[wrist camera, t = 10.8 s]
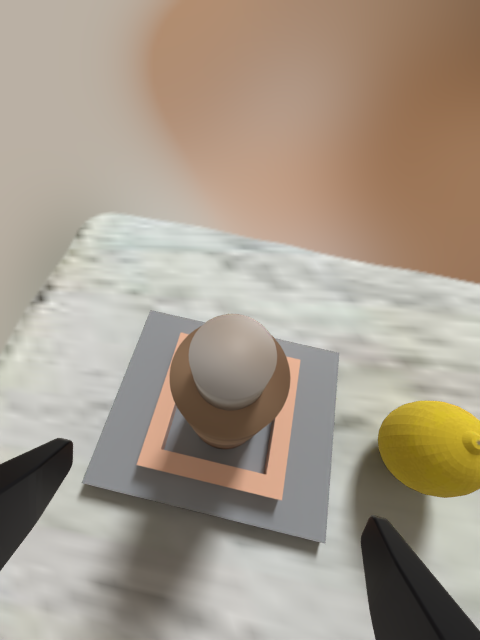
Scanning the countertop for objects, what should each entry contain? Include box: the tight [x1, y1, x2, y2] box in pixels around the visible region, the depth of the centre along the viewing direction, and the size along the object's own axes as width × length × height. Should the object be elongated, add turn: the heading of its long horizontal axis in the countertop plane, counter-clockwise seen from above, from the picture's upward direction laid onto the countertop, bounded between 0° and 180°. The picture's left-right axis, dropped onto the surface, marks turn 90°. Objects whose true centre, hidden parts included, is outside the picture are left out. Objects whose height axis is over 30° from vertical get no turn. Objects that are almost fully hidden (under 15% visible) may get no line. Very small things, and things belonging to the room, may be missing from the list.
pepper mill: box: [170, 314, 290, 449], centre depth 16 cm, size 5×5×13 cm
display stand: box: [82, 310, 339, 543], centre depth 22 cm, size 13×16×2 cm
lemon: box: [378, 401, 480, 498], centre depth 19 cm, size 6×6×8 cm
